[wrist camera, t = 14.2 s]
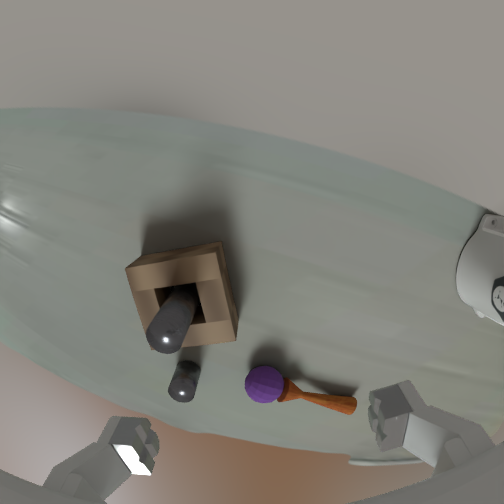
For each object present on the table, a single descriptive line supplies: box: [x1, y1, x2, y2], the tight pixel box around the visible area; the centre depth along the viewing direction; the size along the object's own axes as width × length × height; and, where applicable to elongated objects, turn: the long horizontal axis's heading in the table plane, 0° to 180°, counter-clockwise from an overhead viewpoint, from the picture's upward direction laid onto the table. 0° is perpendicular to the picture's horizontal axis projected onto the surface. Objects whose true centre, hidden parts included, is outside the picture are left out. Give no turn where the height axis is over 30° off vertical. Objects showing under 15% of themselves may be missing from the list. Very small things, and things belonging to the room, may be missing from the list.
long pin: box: [146, 282, 200, 354], centre depth 37 cm, size 4×4×14 cm
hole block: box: [125, 241, 239, 350], centre depth 41 cm, size 12×12×6 cm
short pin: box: [168, 360, 200, 402], centre depth 45 cm, size 4×4×6 cm
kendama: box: [245, 366, 357, 415], centre depth 46 cm, size 6×6×20 cm
